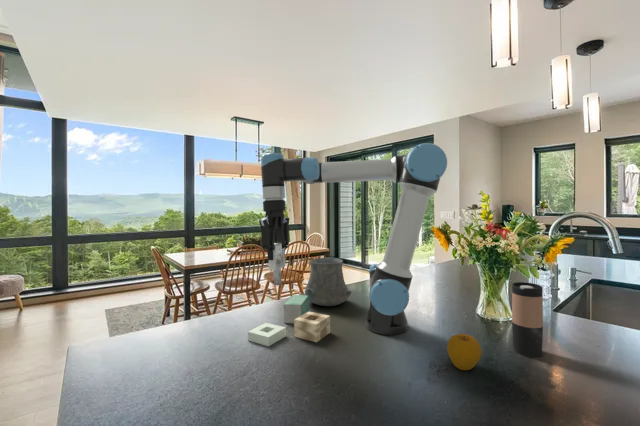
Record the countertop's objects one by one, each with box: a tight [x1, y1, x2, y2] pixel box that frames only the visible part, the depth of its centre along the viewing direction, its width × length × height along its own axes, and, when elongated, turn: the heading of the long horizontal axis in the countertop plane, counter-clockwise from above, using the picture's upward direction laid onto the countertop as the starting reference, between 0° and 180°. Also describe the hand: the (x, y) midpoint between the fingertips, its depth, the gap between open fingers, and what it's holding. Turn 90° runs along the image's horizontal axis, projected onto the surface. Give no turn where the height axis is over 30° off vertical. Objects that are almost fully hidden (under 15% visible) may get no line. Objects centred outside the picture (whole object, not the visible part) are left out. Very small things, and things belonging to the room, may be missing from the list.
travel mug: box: [511, 281, 544, 358], centre depth 92 cm, size 8×8×20 cm
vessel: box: [303, 257, 352, 307], centre depth 141 cm, size 22×22×20 cm
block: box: [293, 311, 331, 343], centre depth 107 cm, size 9×9×6 cm
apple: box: [446, 333, 483, 371], centre depth 84 cm, size 8×8×9 cm
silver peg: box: [272, 242, 283, 287], centre depth 105 cm, size 4×4×14 cm
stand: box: [247, 322, 287, 347], centre depth 105 cm, size 9×9×3 cm
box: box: [283, 294, 310, 324], centre depth 125 cm, size 7×14×8 cm, turn 170°
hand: (277, 268), depth 105 cm, fingers closed on silver peg, 4 cm apart
